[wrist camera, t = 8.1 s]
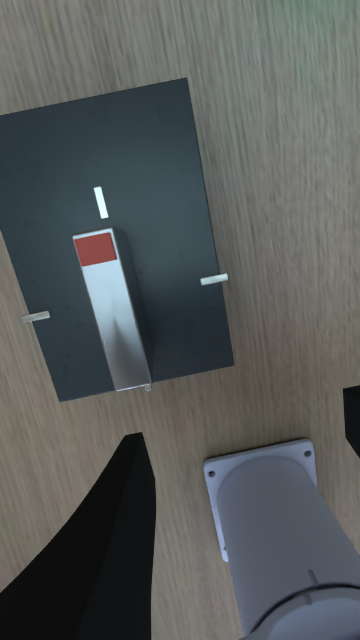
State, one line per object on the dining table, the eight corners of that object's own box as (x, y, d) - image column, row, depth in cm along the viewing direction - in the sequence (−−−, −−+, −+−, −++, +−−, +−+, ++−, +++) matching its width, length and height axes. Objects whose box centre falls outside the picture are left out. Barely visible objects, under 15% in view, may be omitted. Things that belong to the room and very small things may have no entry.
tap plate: (230, 351, 20) (242, 371, 17) (70, 384, 20) (54, 411, 17) (188, 105, 16) (195, 73, 13) (-8, 145, 16) (-48, 122, 13)
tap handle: (154, 352, 16) (152, 387, 12) (125, 358, 16) (114, 395, 12) (125, 229, 15) (112, 225, 11) (92, 236, 15) (67, 234, 11)
